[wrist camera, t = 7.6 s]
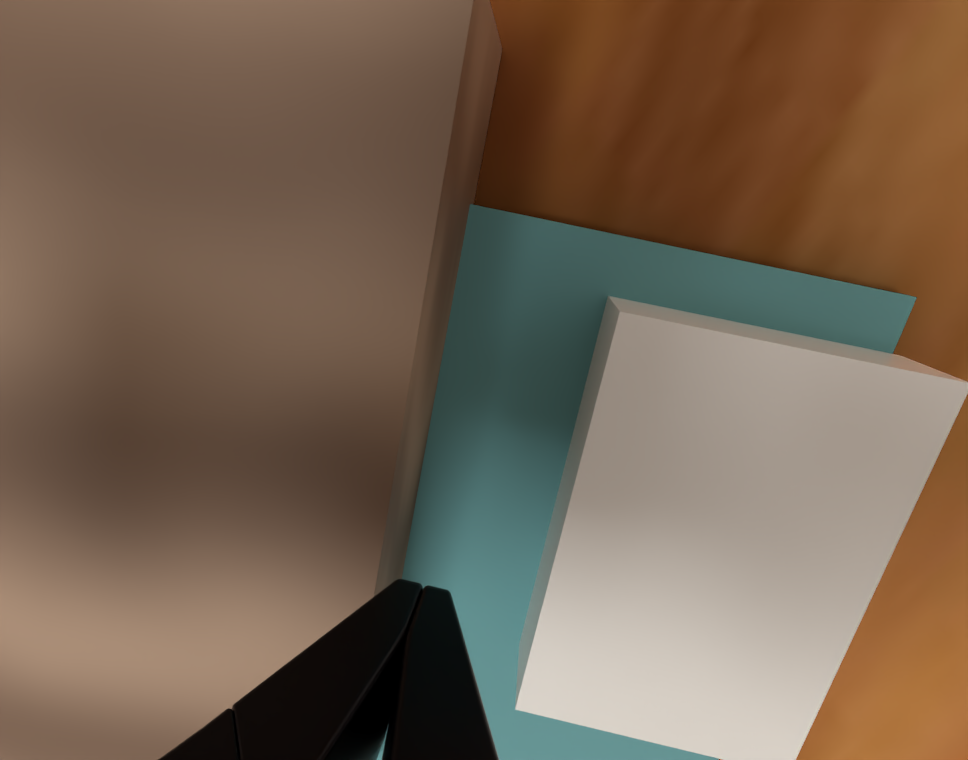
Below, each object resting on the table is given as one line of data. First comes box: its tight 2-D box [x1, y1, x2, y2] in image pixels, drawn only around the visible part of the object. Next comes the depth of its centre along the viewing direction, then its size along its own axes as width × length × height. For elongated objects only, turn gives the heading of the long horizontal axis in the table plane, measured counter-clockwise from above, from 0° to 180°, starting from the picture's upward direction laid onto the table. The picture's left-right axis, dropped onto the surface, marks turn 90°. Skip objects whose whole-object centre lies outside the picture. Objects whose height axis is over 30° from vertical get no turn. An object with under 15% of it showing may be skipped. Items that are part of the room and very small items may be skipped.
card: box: [515, 296, 968, 760], centre depth 12 cm, size 9×6×2 cm, turn 171°
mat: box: [377, 204, 917, 760], centre depth 14 cm, size 17×10×1 cm, turn 170°
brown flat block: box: [0, 0, 502, 760], centre depth 12 cm, size 18×12×4 cm, turn 170°
